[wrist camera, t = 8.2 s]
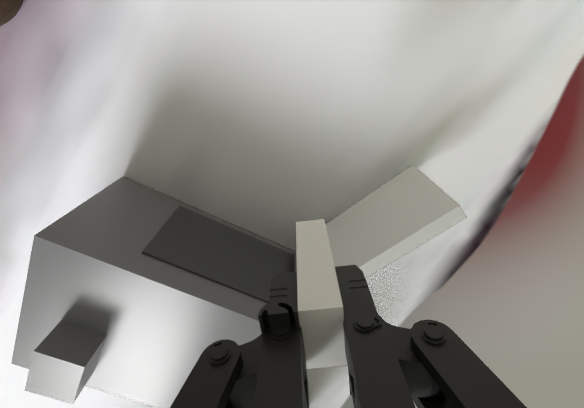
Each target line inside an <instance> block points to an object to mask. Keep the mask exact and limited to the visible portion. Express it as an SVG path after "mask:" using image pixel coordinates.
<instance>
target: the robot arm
mask: <svg viewBox="0 0 584 408" xmlns="http://www.w3.org/2000/svg"><path fill="white" fill-rule="evenodd" d="M296 250H297V271H296V272H286V273H276V275H275V276H274V278H273V279H272V281H271V287H270V298H269V303H268V304H266V305H264V307H263V308H262V309H261V310H260V311H259V314H258V319H259V323H260V328H261V333H262V334H261V335H260V336H258V337H257V338H256V339H254V340H252V341H250V342H247V343H245V344H242V345H238V344H237V343H236V342H235V341H232V340H229V339H225V340H219V341H216V342H214V343H212V344H211V345H209V346H208V347H207V348H206V349H205V350H204V351H203V352H202V354H201V356H200V357H199V359H198V361H197V362H196V364H195V366H194V367H193V369H192V371H191V373H190V374H189V376H188V378H187V379H186V381H185V383H184V385H183V386H182V388H181V390H180V391H179V393H178V395H177V396H176V398H175V400H174V402H173V403H172V405H171V407H170V408H309V392H308V380H307V372H306V369H313V368H325V367H336V366H347V364H348V370H349V384H350V395H352V398H353V403H354V408H415V405H414V403H415V404H416V406H417V407H418V408H527V407H526V406H525V405H524V404H523V403H522V402H521V401H520V400H519V399H518V398H517V397H516V396H515V395H514V394H513V393H512V392H511V391H510V390H509V389H508V388H507V387H506V386H505V385H504V384H503V382H502V381H501V380H500V379H499V378H497V376H496V375H495V374H494V373H493V372H492V371H491V370H490V369H489V368H488V367H487V366H486V365H485V364H484V363H483V362H482V361H481V360H480V359H479V358H478V356H477V355H476V354H475V353H474V352H473V351H472V350H471V349H470V348H469V347H468V346H467V345H466V344H465V343H464V342H463V341H462V340H461V339H460V338H459V337H458V336H457V335H456V334H455V333H454V332H453V331H452V330H451V329H450V328H449V327H448V326H446V325H445V324H443V323H440V322H438V321H433V320H423V321H419V322H417V323H415V324H414V325H413V327H412V328H411V329H407V328H401V327H396V326H393V325H391V324H388V323H387V322H385V321H384V320H383V319H382V318H381V317H380V316H379V315H378V313H377V311H376V308H375V305H374V302H373V299H372V296H371V294H370V291H369V288H368V285H367V282H366V279H365V276H364V274H363V271H362V270H361V269H360V268H359V267H358V266H356V265H347V266H337V267H334V262H333V257H332V253H331V248H330V243H329V239H328V234H327V229H326V224H325V220H324V219H318V220H309V221H300V222H296ZM412 399H413V400H412ZM413 401H414V402H413Z"/></svg>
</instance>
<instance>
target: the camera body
mask: <svg viewBox="0 0 584 408" xmlns="http://www.w3.org/2000/svg"><path fill="white" fill-rule="evenodd" d="M295 266H296V252H295V251H293V250H290V249H288V248H286V247H284V246H281V245H279V244H277V243H274V242H272V241H270V240H268V239H265V238H263V237H261V236H258V235H256V234H254V233H251V232H249V231H247V230H245V229H242V228H240V227H238V226H235V225H233V224H231V223H228V222H226V221H224V220H222V219H219V218H217V217H215V216H212V215H210V214H208V213H206V212H203V211H201V210H199V209H196V208H194V207H192V206H189V205H187V204H185V203H183V202H180V201H178V200H176V199H173V198H171V197H169V196H167V195H164V194H162V193H160V192H157V191H155V190H153V189H150V188H148V187H146V186H144V185H141V184H139V183H137V182H134V181H132V180H130V179H128V178H125V177H121V178H120V179H118V180H117V181H115V182H114V183H112V184H111V185H109V186H108V187H106V188H105V189H103V190H102V191H100V192H99V193H97V194H96V195H94V196H93V197H91V198H90V199H88V200H87V201H85V202H84V203H82V204H81V205H79V206H78V207H76V208H75V209H73V210H72V211H70V212H69V213H67V214H66V215H64V216H63V217H61V218H60V219H58V220H57V221H55V222H54V223H52V224H51V225H49V226H48V227H46V228H45V229H43V230H42V231H40V232H39V233H37V234H36V235H34V241H33V246H32V252H31V257H30V263H29V269H28V274H27V280H26V285H25V291H24V297H23V302H22V308H21V313H20V319H19V324H18V330H17V336H16V341H15V347H14V352H13V358H12V364H15V365H18V366H21V367H25V368H28V369H29V373H28V378H27V383H26V387H25V390H26V391H29V392H32V393H36V394H39V395H43V396H46V397H50V398H53V399H56V400H60V401H63V402H67V403H70V404H73V403H74V401H75V400H76V398H77V397H78V395H79V394H80V392H81V391H82V389H83V388H84V386H87V387H90V388H93V389H97V390H100V391H103V392H106V393H110V394H113V395H116V396H120V397H123V398H126V399H129V400H133V401H136V402H139V403H142V404H146V405H149V406H152V407H156V408H170V407H171V405H172V403H173V402H174V400H175V398H176V396H177V395H178V393H179V391H180V390H181V388H182V386H183V385H184V383H185V381H186V379H187V378H188V376H189V374H190V373H191V371H192V369H193V367H194V366H195V364H196V362H197V361H198V359H199V357H200V356H201V354H202V352H203V351H204V350H205V349H206V348H207V347H208V346H209V345H211V344H212V343H214V342H216V341H219V340H225V339H229V340H232V341H235V342H236V343H237V344H238V345H242V344H245V343H247V342H250V341H252V340H254V339H256V338H257V337H258V336H260V335H261V334H262V333H261V328H260V323H259V319H258V314H259V311H260V310H261V309H262V308H263V307H264V305H266V304H268V303H269V298H270V287H271V281H272V279H273V278H274V276H275V275H276V273H286V272H295Z"/></svg>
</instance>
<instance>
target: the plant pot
mask: <svg viewBox="0 0 584 408" xmlns="http://www.w3.org/2000/svg"><path fill="white" fill-rule="evenodd" d="M22 1H23V0H0V26H1V25H3V24H5V23H7V22H8V21H10V20H11V19H12V18H13V17H14V16H15V15H16V13H17V12H18V10H19V8H20V6H21V4H22Z"/></svg>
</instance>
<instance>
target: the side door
mask: <svg viewBox="0 0 584 408" xmlns="http://www.w3.org/2000/svg"><path fill="white" fill-rule="evenodd" d="M466 217H467V216H466V214H465V213H464V211H463V209H462V208H461V206H460V205H459V204H458V203H457V202H455V201H454V200H453V199H452V198H451V197H450V196H449V195H448V194H446V193H445V192H444V191H443V190H442V189H441V188H440V187H438V186H437V185H436V184H435V183H434V182H433V181H432V180H430V179H429V178H428V177H427V176H426V175H425V174H424V173H422V172H421V171H420V170H419V169H418V168H417V167H416V166H415V165H411V166H410V167H408V168H407V169H406V170H404V171H403V172H401V173H400V174H398V175H397V176H395V177H394V178H392V179H391V180H390V181H388V182H387V183H385V184H384V185H382V186H381V187H379V188H378V189H376V190H375V191H374V192H372V193H371V194H369V195H368V196H366V197H365V198H363V199H362V200H360V201H359V202H358V203H356V204H355V205H353V206H352V207H350V208H349V209H347V210H346V211H344V212H343V213H342V214H340V215H339V216H337V217H336V218H334V219H333V220H331V221H330V222H328V223H327V224H326V229H327V234H328V239H329V243H330V248H331V253H332V257H333V262H334V267H337V266H347V265H356V266H358V267H359V268H360V269H361V270H362V271H363V274H364V276H365V278H367V277H368V276H370V275H372V274H373V273H375V272H377V271H378V270H380V269H382V268H383V267H385V266H387V265H388V264H390V263H392V262H393V261H395V260H397V259H398V258H400V257H402V256H403V255H405V254H407V253H408V252H410V251H412V250H413V249H415V248H417V247H418V246H420V245H422V244H423V243H425V242H427V241H428V240H430V239H432V238H433V237H435V236H437V235H438V234H440V233H442V232H443V231H445V230H447V229H448V228H450V227H452V226H453V225H455V224H457V223H458V222H460V221H461V220H463V219H465V218H466ZM296 271H297V250H296V266H295V272H296Z"/></svg>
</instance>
